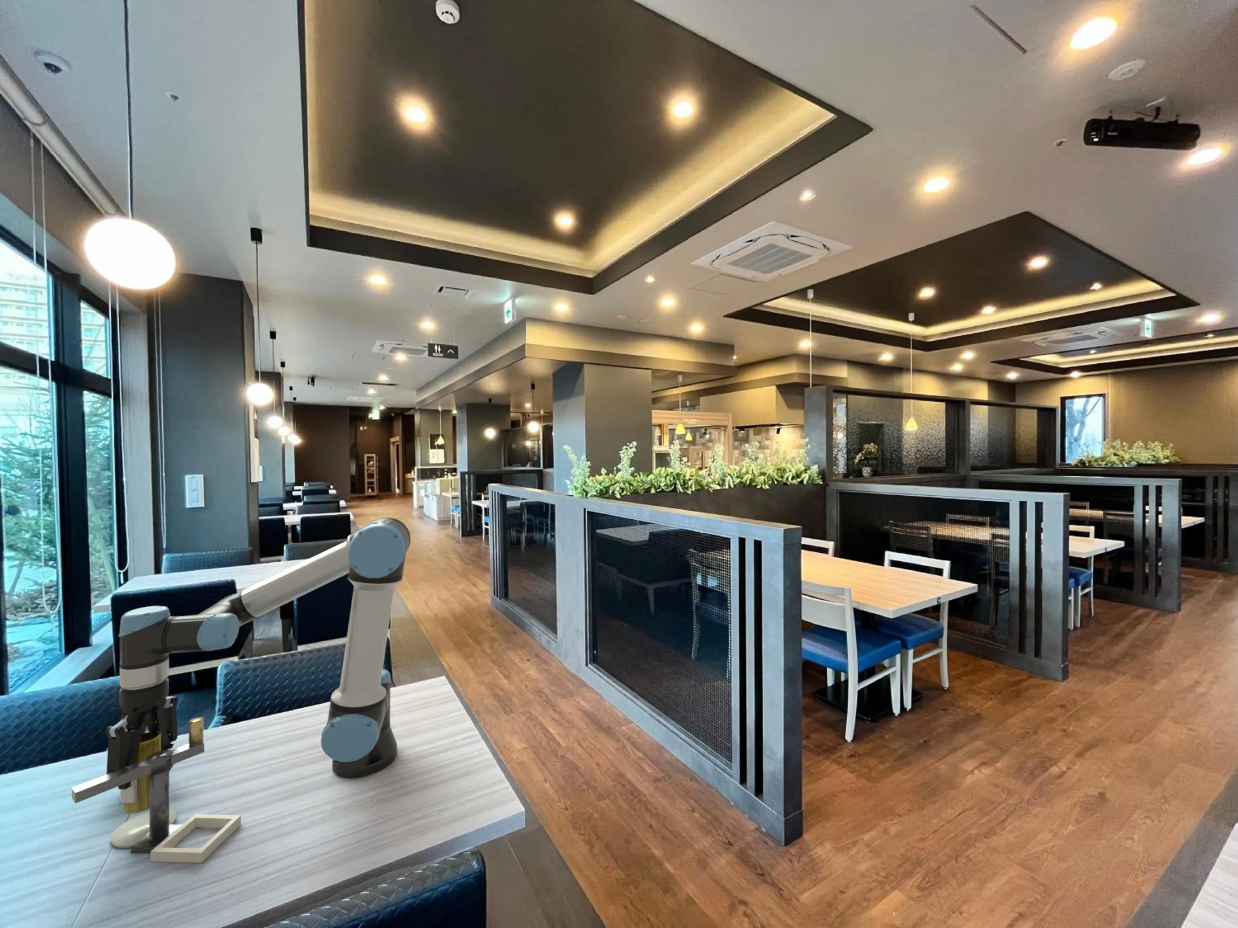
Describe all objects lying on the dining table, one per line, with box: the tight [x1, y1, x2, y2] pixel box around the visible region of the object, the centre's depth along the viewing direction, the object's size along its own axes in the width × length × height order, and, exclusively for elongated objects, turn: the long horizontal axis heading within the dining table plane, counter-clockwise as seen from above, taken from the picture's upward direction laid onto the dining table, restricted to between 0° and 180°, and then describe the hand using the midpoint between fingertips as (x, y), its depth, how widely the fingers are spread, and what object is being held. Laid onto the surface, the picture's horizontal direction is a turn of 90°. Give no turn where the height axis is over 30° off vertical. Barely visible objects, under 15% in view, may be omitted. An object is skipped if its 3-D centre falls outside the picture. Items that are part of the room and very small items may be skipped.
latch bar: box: [71, 717, 205, 804], centre depth 99 cm, size 19×4×7 cm, turn 147°
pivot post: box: [129, 768, 183, 854], centre depth 102 cm, size 6×6×15 cm
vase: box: [122, 730, 161, 814], centre depth 104 cm, size 6×6×14 cm
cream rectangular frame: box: [150, 813, 242, 864], centre depth 102 cm, size 10×10×2 cm
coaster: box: [110, 808, 177, 849], centre depth 105 cm, size 10×10×1 cm
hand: (144, 790), depth 105 cm, fingers closed on vase, 6 cm apart
